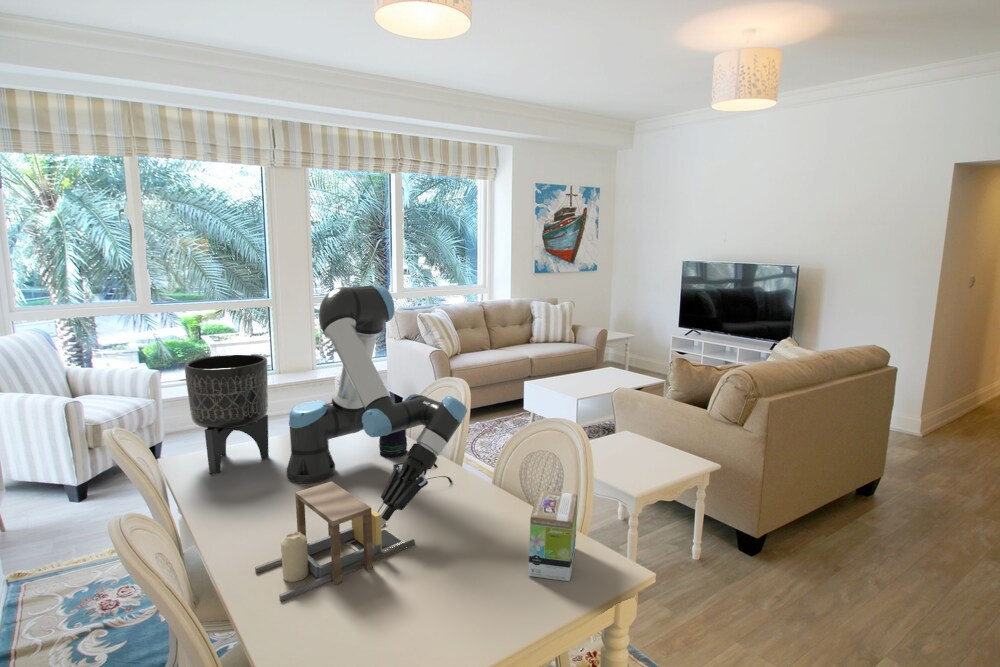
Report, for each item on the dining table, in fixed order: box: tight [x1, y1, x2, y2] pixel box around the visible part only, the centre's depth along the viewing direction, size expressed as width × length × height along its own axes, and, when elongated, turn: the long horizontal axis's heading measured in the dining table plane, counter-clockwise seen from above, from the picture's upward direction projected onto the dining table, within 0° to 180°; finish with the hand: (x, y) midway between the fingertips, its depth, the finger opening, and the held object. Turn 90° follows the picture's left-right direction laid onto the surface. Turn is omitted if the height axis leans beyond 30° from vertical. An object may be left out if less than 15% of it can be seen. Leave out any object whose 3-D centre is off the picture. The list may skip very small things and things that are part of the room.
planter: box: [184, 353, 270, 475], centre depth 193 cm, size 25×25×36 cm
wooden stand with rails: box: [254, 481, 416, 602], centre depth 136 cm, size 20×34×15 cm, turn 133°
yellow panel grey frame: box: [307, 507, 382, 578], centre depth 136 cm, size 12×16×10 cm
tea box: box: [527, 490, 578, 582], centre depth 135 cm, size 15×10×15 cm, turn 168°
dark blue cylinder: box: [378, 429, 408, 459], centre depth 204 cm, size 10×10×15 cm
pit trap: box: [345, 527, 406, 552], centre depth 144 cm, size 10×12×1 cm
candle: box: [280, 531, 309, 583], centre depth 129 cm, size 6×6×10 cm
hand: (373, 529), depth 143 cm, fingers closed
